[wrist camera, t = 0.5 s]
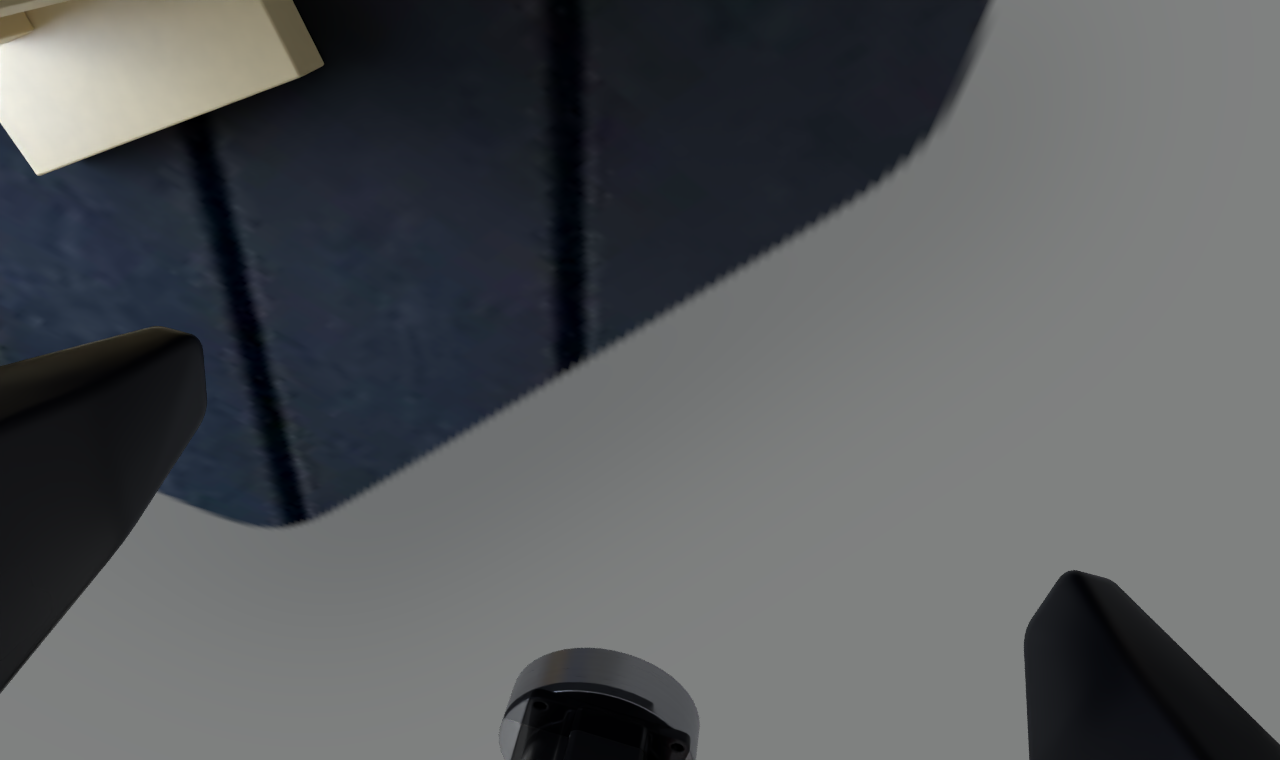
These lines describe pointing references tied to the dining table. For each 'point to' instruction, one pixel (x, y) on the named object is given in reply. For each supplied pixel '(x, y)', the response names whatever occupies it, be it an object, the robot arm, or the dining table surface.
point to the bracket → (136, 67)
